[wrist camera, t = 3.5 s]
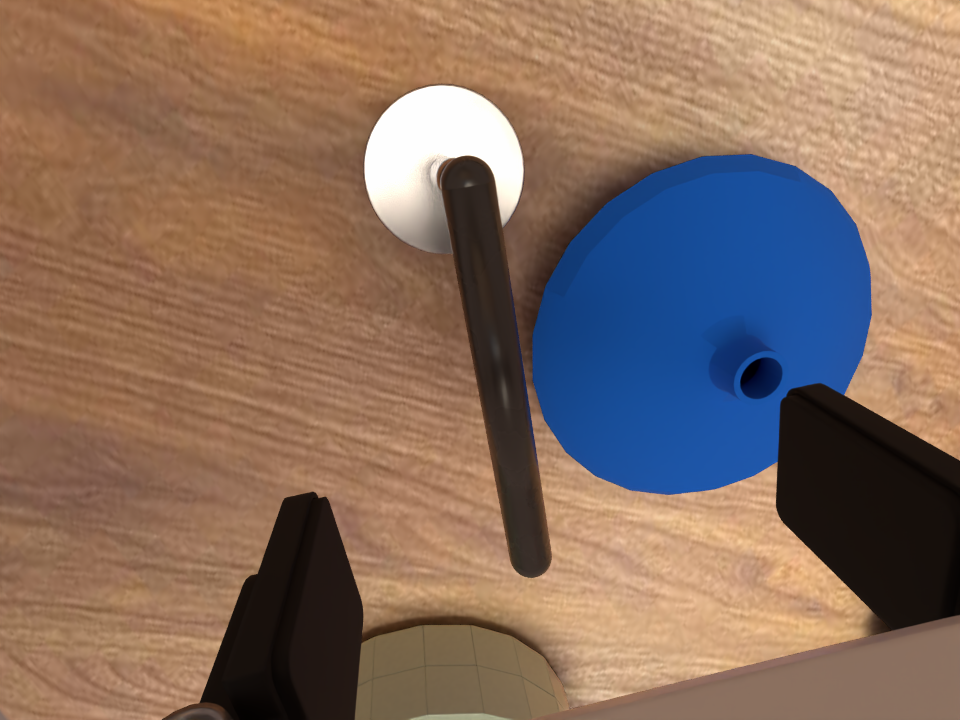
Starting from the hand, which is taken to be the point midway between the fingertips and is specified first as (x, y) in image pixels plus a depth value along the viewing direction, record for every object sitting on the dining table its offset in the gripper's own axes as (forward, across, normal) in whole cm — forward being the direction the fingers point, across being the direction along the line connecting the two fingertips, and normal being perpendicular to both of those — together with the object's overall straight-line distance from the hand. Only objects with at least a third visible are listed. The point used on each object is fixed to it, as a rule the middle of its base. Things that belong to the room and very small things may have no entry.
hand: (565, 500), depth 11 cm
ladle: (+15, 0, -1) cm, 16 cm away
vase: (+16, -10, +3) cm, 19 cm away
